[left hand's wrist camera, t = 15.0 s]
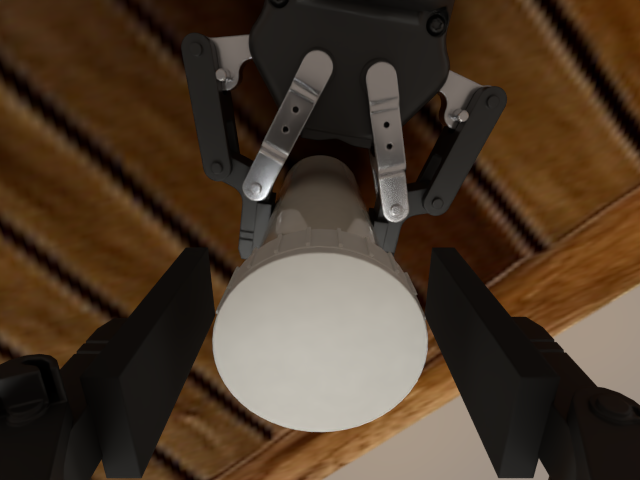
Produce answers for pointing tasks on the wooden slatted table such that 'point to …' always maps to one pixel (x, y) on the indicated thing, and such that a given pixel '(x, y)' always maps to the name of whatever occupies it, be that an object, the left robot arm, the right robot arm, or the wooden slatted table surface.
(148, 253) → the wooden slatted table surface
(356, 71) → the right robot arm
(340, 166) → the jar
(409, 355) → the lid
